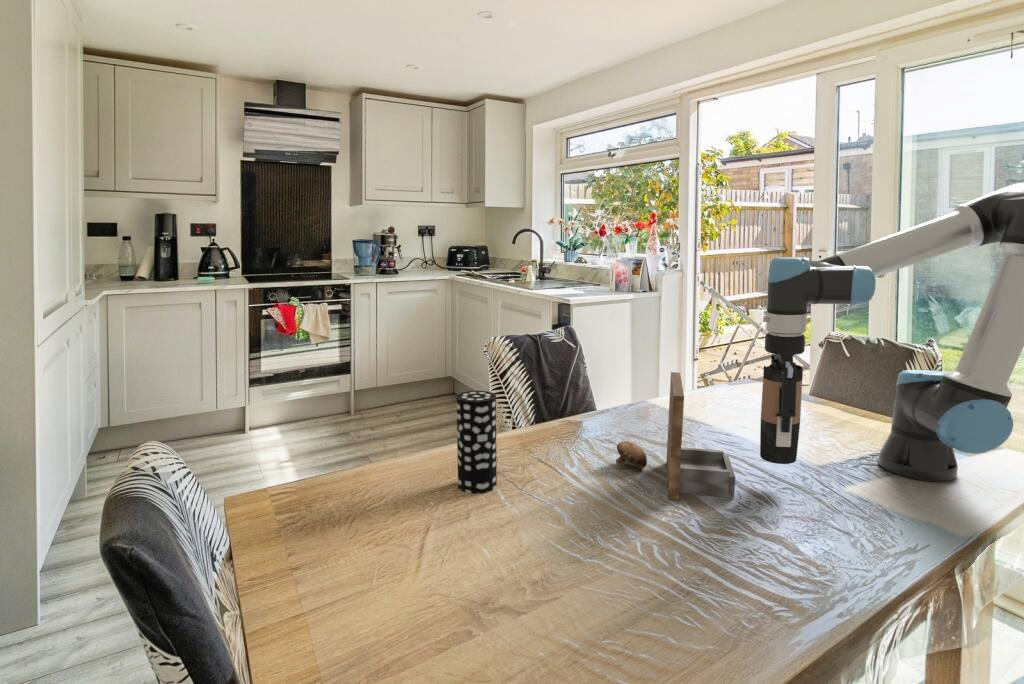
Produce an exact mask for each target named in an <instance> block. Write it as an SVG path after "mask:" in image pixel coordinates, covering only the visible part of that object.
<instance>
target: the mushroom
mask: <svg viewBox="0 0 1024 684" xmlns="http://www.w3.org/2000/svg"><path fill="white" fill-rule="evenodd" d="M616 450H617V453H618V454H619V455H620V456H618V457H617V458H616V459H615V463H616V465H617V466H618V467H619V468H621V469H626V468H627V467H628V466H630V465H631V466H635V467H636V468H639V469H645V467H646V466H647V464H648V463H647V462H648V458H647V455H646V454H647V453H646V452H645V451H644V450H643V449H642V448H641V447H640V446H639V445H637V444H636V443H635V442H632V441H630V440H622V441H620V442H619V443H618V444H617V445H616Z"/></svg>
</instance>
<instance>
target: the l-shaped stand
mask: <svg viewBox="0 0 1024 684" xmlns="http://www.w3.org/2000/svg"><path fill="white" fill-rule="evenodd" d="M682 381H683V380H682V377H681V372H674V371H673V372H672V371H671V372H670V387H669V405H668V424H667V441H666V444H667V445H666V462H665V463H666V480H667V481H666V482H667V499H668V500H671V501H679V499H680V494H686V495H687V494H689V495H699V496H700V495H701V496H710V497H711V496H712V497H723V498H733V499H735V491H736V490H735V488H736V475H735V471H734V468H733V465H732V463H731V460H730V455H729V454H725V452H724V450H720V449H709V448H708V449H707V448H694V447H693V448H691V447H683V446H682V444H683V443H682V442H683V441H682V438H683V426H684V425H683V422H684V408H685V407H684V406H685V393H684V388H683V382H682Z"/></svg>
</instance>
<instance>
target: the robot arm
mask: <svg viewBox="0 0 1024 684" xmlns="http://www.w3.org/2000/svg"><path fill="white" fill-rule="evenodd" d="M993 243H994V244H995V243H999V244H998V245H999V247H1000V249H1001V250H1002V251H1003V252H1002V253H1004V256H1003V259H1002V261H1001V263H1000V265H999V267H998V270H997V272H996V275H995V277H994V279H993V282H992V284H991V287H990V289H989V291H988V294H987V296H986V298H985V300H984V303H983V305H982V308H981V310H980V312H979V314H978V317H977V319H976V321H975V323H974V326H973V328H972V329H971V333H970V335H969V337H968V339H967V342H966V343H965V347H964V349H963V352H962V354H961V357H960V358H959V360H958V363H957V365H956V368H954V369H953V370H951V371H941V370H928V369H927V370H925V369H906V370H902V371H901V372H899V373H898V376H897V380H896V383H895V393H894V402H893V410H892V411H893V413H892V420H891V427H890V428H891V429H890V432H889V435H888V437H887V439H886V440H885V442H884V444H883V445H882V447H881V449H880V451H879V454H878V464H879V466H880V467H882V468H883V469H884V470H886V471H888V472H890V473H892V474H895V475H898V476H901V477H904V478H909V479H912V478H913V480H917V481H925V482H935V483H936V482H938V483H939V482H950V481H953V480H955V479H956V478H957V476H958V469H959V467H958V461H957V458H956V454H955V450H957V451H959V452H961V453H965V454H972V455H973V454H975V455H977V454H978V455H979V454H986V453H987V452H990V451H992V450H995V449H997V448H999V447H1001V446H1002V445H1003V444H1004V443H1005V442H1006V441H1007V440H1009V437H1010V436H1011V434H1012V432H1013V429H1014V418H1013V417H1012V412H1010V410H1009V408H1008V406H1009V404H1010V402H1011V400H1012V398H1013V397H1012V396H1013V393H1012V392H1011V390H1010V389H1009V386H1008V382H1009V380H1010V378H1011V376H1012V374H1013V371H1014V369H1015V367H1016V365H1017V362H1018V360H1019V359H1020V356H1021V354H1022V352H1023V350H1024V182H1022V183H1016V184H1012V185H1009V186H1007V187H1003V188H1000V189H998V190H996V191H993V192H991V193H988V194H985V195H983V196H980V197H978V198H976V199H973V200H970V201H969V202H965V203H962V204H959V205H958V206H956V207H955V208H954V209H953V211H952V212H951V213H949V214H946V215H944V216H941V217H937V218H935V219H932V220H929V221H927V222H924V223H921V224H918V225H914V226H912V227H910V228H907V229H905V230H901V231H899V232H896V233H894V234H889V235H887V236H885V237H882V238H878V239H876V240H873V241H870V242H868V243H865V244H862V245H860V246H856V247H854V248H851V249H849V250H846V251H843V252H840V253H837V254H835V255H832V256H829V257H825V258H822V259H820V260H811V259H809V258H808V257H805V256H804V257H803V256H795V257H794V256H786V257H785V256H784V257H783V256H782V257H781V256H780V257H775V258H772V260H771V261H770V263H769V269H768V278H767V280H766V281H767V302H766V303H767V306H766V316H764V317H763V322H765V330H766V331H767V333H766V334H765V337H764V339H765V340H764V350H765V352H767V353H768V354H771V356H770V365H771V364H772V368H773V369H774V370H782V371H783V372H782V388H781V387H780V389H779V413H776V414H775V416H776V417H777V432H776V446H779V447H791V432H792V417H795V415H796V413H795V409H796V377H797V372H798V370H797V368H796V365H797V364H796V362H795V361H794V356H795V355H801V354H803V353H804V352H805V350H806V349H805V348H806V336H805V333H806V332H807V323H808V322H807V321H808V320H807V319H808V305H851V306H853V305H857V304H858V305H859V304H867V303H868V302H870V301H871V300H872V299H873V297H874V295H875V292H876V287H877V286H876V284H877V281H876V278H877V277H880V276H883V275H886V274H889V273H892V272H895V271H898V270H900V269H903V268H906V267H909V266H912V265H915V264H918V263H921V262H924V261H926V260H930V259H933V258H935V257H939V256H941V255H945V254H947V253H950V252H953V251H956V250H958V249H961V248H965V247H967V248H970V249H976V248H980V247H982V246H985V245H990V244H993ZM788 410H789V411H788Z"/></svg>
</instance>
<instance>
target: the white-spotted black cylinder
mask: <svg viewBox="0 0 1024 684" xmlns="http://www.w3.org/2000/svg"><path fill="white" fill-rule="evenodd" d="M456 441H457V442H456V444H457V446H456V447H457V449H456V451H457V487H458V489H459V490H460V491H461V492H464V493H467V494H475V495H476V494H485V493H490V492H492V491H493V490H495V489H496V488H497V486H498V485H497V484H498V483H497V482H498V481H497V480H498V479H497V477H498V476H497V475H498V473H497V469H498V468H497V458H498V457H497V394H495V393H494V392H492V391H486V390H468V391H463V392H459V393H458V394H456Z"/></svg>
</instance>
